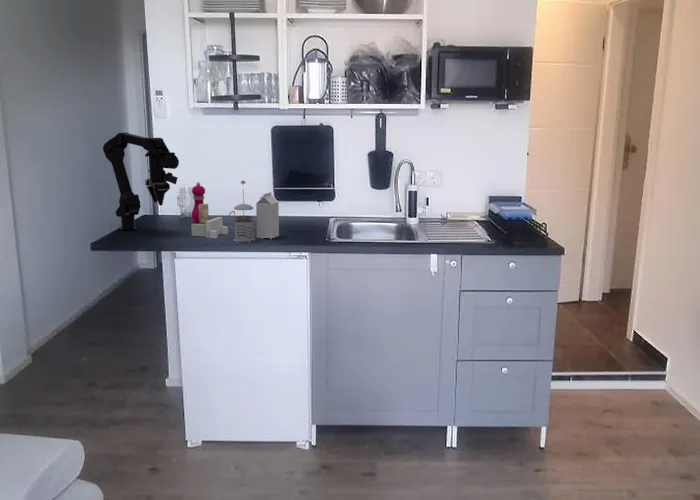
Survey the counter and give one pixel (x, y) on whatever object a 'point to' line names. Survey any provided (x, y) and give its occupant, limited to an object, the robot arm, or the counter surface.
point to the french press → (247, 223)
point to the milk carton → (267, 217)
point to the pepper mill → (197, 201)
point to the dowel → (203, 213)
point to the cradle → (198, 230)
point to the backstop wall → (215, 228)
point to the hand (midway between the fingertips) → (158, 203)
